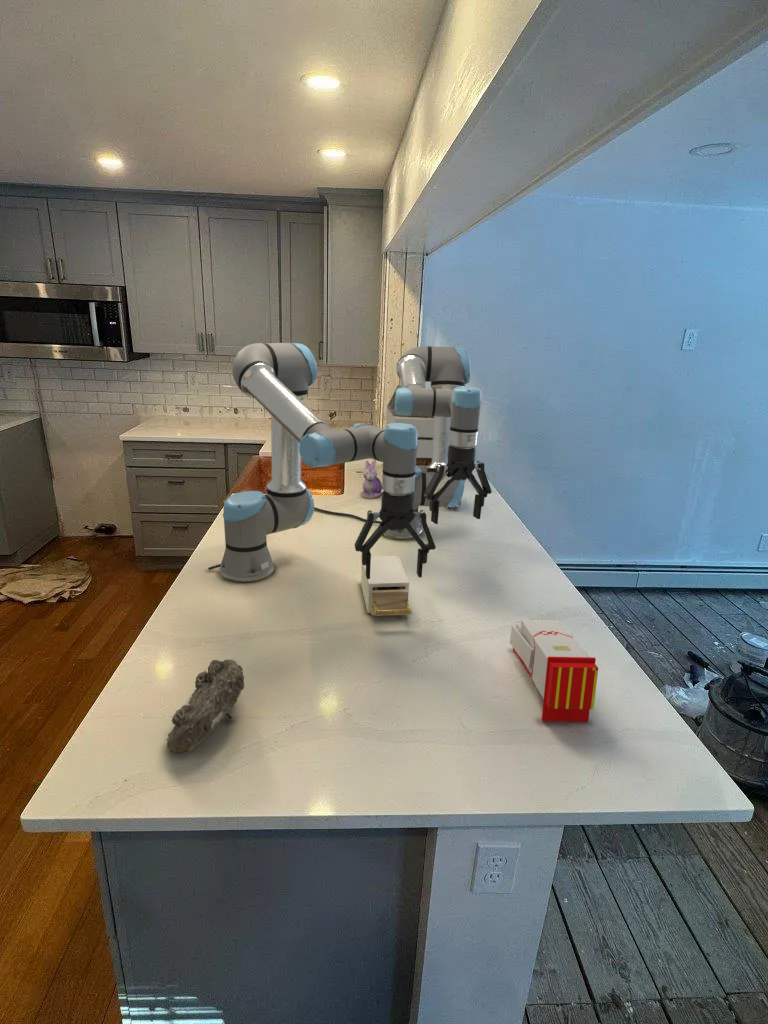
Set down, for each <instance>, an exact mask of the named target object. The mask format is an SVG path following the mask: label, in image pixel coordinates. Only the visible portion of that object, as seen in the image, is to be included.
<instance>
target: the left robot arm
mask: <svg viewBox="0 0 768 1024" xmlns="http://www.w3.org/2000/svg"><path fill="white" fill-rule="evenodd" d="M315 358H316V357H315V356H314V354H313V353H312V351H311V350H310V348H309V347H307V346H306V345H305V344H303V343H297V342H267V343H265V342H263V343H262V342H255V343H254V342H253V343H251V344H247V345H245V346H244V347H243V348H242V349H240V350H239V351H238V353H237V354H236V356H235V357H234V359H233V362H232V367H231V369H232V370H231V371H232V376H233V380H234V382H235V384H236V386H237V388H238V389H239V390H240V391H241V392H242V393H243V395H245V396H246V397H247V398H250V399H255V401H256V402H258V403H259V404H260V405H261V406H262V408H264V409H265V410H266V411H267V412H268V413H269V414H270V426H271V428H270V431H271V433H270V434H271V439H270V440H271V441H270V443H271V445H270V446H271V449H270V450H271V480H270V481H268V482H267V484H266V492H265V494H264V492H262V491H260V490H249V491H248V490H243V491H239V492H236V493H233V494H231V495H229V496H228V497H227V498H226V499H225V501H224V502H223V512H222V517H223V525H224V527H223V528H224V529H223V530H224V541H225V543H224V544H225V549H224V553H223V555H222V559H221V562H220V563H219V564H215V565H212V566H209V567H207V569H208V571H211V570H214V569H218V568H219V570H220V576H221V577H222V578H224V579H225V580H227V581H229V582H234V583H253V582H254V583H255V582H259V581H262V580H265V579H267V578H269V577H270V576H271V575H272V574H273V573H274V570H275V568H274V566H275V565H274V561H273V559H272V558H273V557H272V556H271V553H270V551H269V548H268V544H267V542H268V541H267V536H268V535H271V534H275V533H280V532H283V531H288V530H292V529H297V528H299V527H301V526H304V525H306V524H308V523H309V522H311V519H312V517H313V515H314V511H315V510H314V507H315V501H314V499H313V495H312V492H311V491H310V490H309V489H308V488H307V485H306V484H305V482H303V480H302V462H303V463H304V464H305V466H307V467H309V468H313V469H316V468H327V467H330V466H331V467H332V466H335V465H340V464H346V463H351V462H357V461H362V460H369V459H370V460H373V461H374V460H376V462H380V463H382V480H381V485H382V491H381V501H380V502H381V503H380V510H379V512H378V511H372V510H370V509H369V510H367V513H366V519H367V520H366V522H364V524H363V526H362V528H361V530H360V532H359V534H358V536H357V538H356V541H355V542H354V549H355V552H360V553H361V565H362V564H363V565H366V578H367V579H370V565H371V556H372V553H371V549H372V548H373V547H374V546H375V545H376V543H378V541H379V539H380V538H381V537H383V534H384V533H385V532H386V531H387V530H388V529H389V530H403V529H405V528H406V529H407V530H408V531H409V533H410V534H411V535H412V536H413V538H414V539H413V540H414V541H415V542H416V543H417V545H418V546H419V547H420V548H417V560H416V574H417V577H418V578H419V579H420V578H421V579H422V578H423V567H424V566H423V565H424V564H427V562H428V554H429V553H430V551H431V550H433V551H435V549H436V548H437V547H436V544H435V541H434V539H433V535H432V532H431V530H430V527H429V525H428V522H427V513H426V511H425V510H424V509H420V510H419V511H418V512H414V511H413V506H414V493H413V491H414V490H415V472H416V471H415V470H416V467H417V466H416V457H417V447H418V431H417V428H416V427H415V426H414V425H411V424H404V423H390V424H387V423H386V425H385V426H384V428H382V427H378V426H376V425H373V424H370V423H362V422H361V423H360V422H358V423H355V424H353V425H352V426H350V427H349V428H344V429H333V428H332V427H331V426H329V425H328V424H327V423H326V422H325V421H324V420H323V419H322V418H320V416H319V415H318V414H317V413H315V412H314V411H313V410H312V409H311V408H310V407H309V406H308V405H307V404H306V403H305V402H304V401H303V400H304V399H305V398H306V397H307V396H308V395H309V387H311V386H312V385H314V383H315V382H316V380H317V376H318V366H317V361H316V359H315ZM415 517H416V518H417V520H418V521H420V523H421V525H422V532H423V533H424V536H425V538H426V541H427V543H425V541H423V539H422V538H421V536H419V535H418V534H417V532H416V531H415V529H414V528H413V527H412V525H411V524H410V523H411V522H412V520H413V519H414V518H415ZM377 519H379V520H380V521H382V522H381V523H380V524H378V527H377V528H376V529H374V531H373V533H372V534H370V536H369V533H370V531H371V530H372V527H373V524H374V523H373V522H375V521H377ZM368 536H369V537H368ZM367 538H368V539H367Z"/></svg>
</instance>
